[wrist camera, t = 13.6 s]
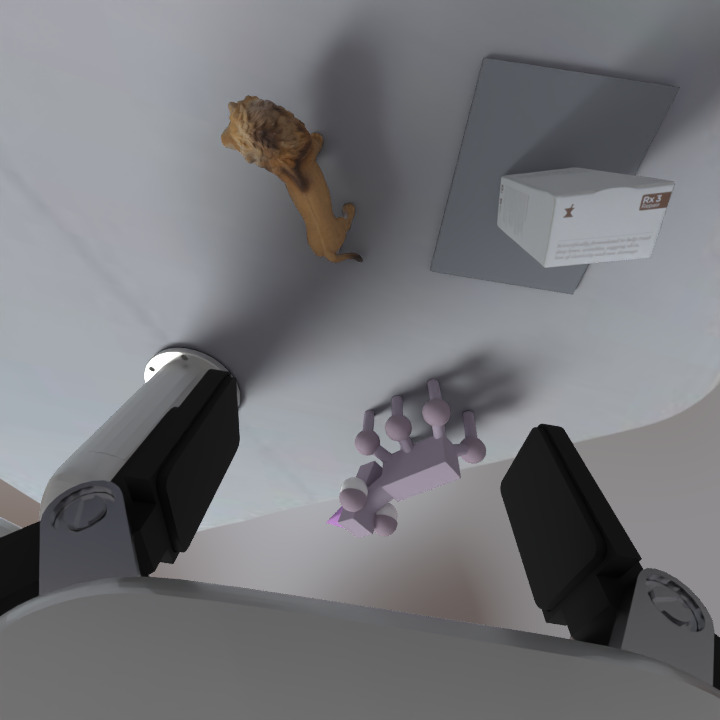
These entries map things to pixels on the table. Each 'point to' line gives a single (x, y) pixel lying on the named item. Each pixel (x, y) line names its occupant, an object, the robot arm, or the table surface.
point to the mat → (537, 158)
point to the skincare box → (582, 215)
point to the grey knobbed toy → (403, 466)
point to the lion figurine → (291, 168)
